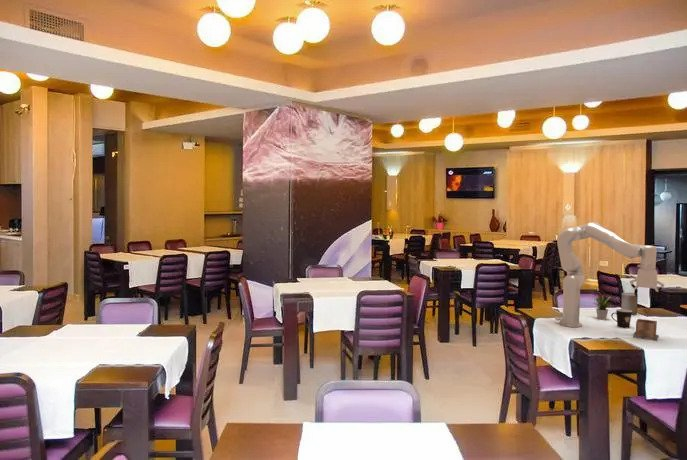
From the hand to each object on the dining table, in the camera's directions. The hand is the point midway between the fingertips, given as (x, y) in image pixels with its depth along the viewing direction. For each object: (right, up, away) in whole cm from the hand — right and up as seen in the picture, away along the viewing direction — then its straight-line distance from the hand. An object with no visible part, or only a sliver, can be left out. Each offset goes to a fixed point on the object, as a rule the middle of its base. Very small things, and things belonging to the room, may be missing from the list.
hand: (645, 297), depth 312 cm
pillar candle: (+23, -19, +62) cm, 69 cm away
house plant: (-5, -20, +45) cm, 50 cm away
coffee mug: (-2, -21, +24) cm, 32 cm away
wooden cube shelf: (0, -22, 0) cm, 22 cm away
